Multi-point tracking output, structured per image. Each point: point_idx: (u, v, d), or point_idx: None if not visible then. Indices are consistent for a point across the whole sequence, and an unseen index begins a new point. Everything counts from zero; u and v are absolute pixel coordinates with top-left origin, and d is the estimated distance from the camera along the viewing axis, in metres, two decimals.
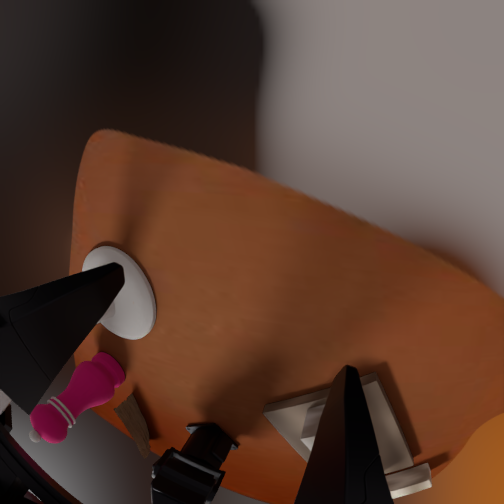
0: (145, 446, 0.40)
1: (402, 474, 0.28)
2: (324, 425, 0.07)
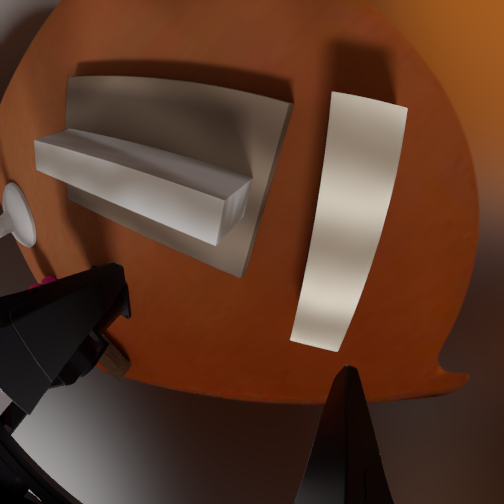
0: (114, 364, 0.41)
1: None
2: (324, 425, 0.07)
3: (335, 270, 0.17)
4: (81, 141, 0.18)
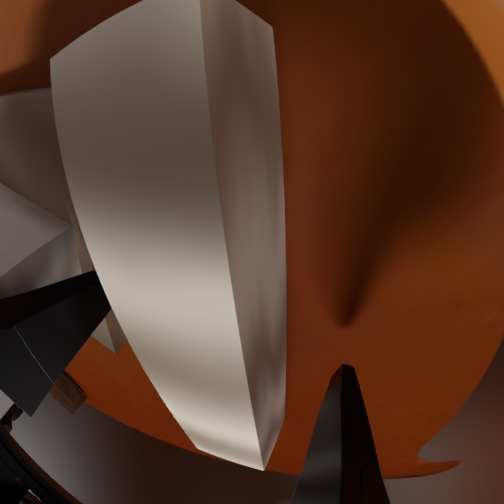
0: (66, 397, 0.33)
1: None
2: (321, 424, 0.07)
3: (196, 400, 0.08)
4: None
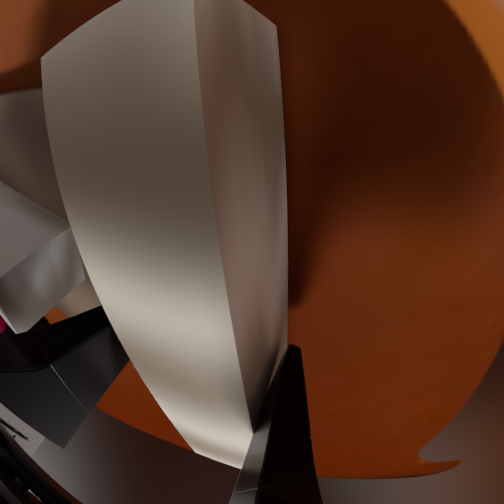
0: None
1: None
2: (264, 405, 0.08)
3: (193, 407, 0.08)
4: None
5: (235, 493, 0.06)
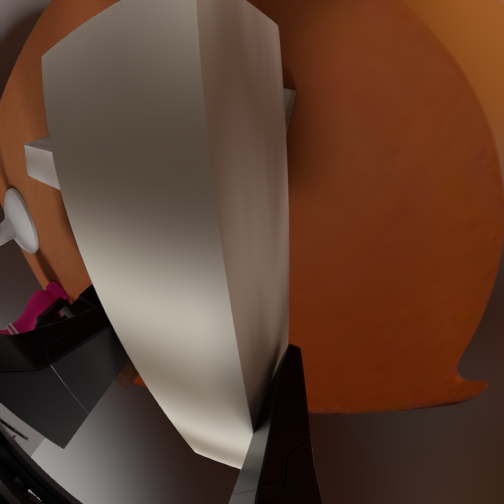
0: (120, 372, 0.40)
1: None
2: (264, 405, 0.08)
3: (193, 407, 0.08)
4: None
5: (235, 493, 0.06)
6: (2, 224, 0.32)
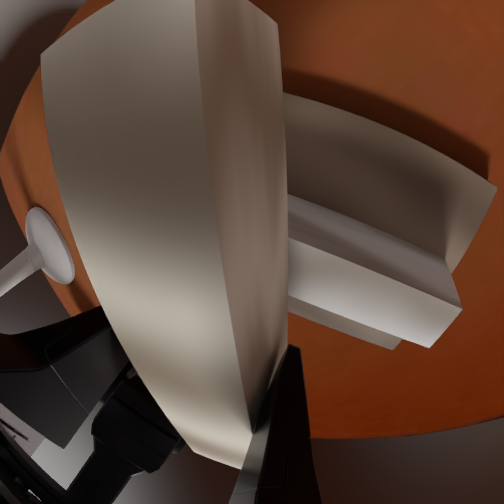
0: None
1: None
2: (264, 405, 0.08)
3: (191, 406, 0.08)
4: None
5: (235, 493, 0.06)
6: (27, 252, 0.29)
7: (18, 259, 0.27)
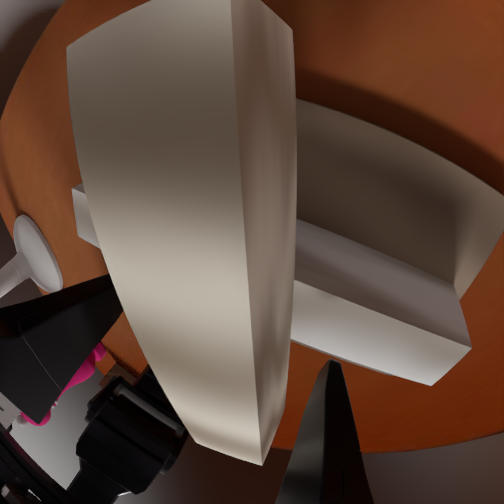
0: None
1: None
2: (307, 420, 0.07)
3: (200, 393, 0.08)
4: None
5: None
6: (14, 261, 0.27)
7: (5, 269, 0.25)
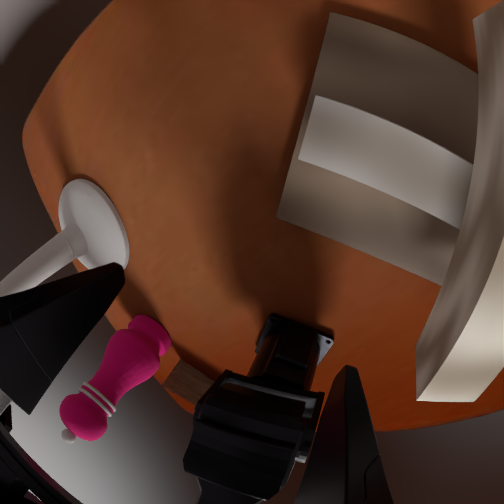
0: None
1: (487, 112, 0.07)
2: (324, 425, 0.07)
3: None
4: (424, 137, 0.11)
5: None
6: (65, 234, 0.25)
7: (53, 243, 0.23)
